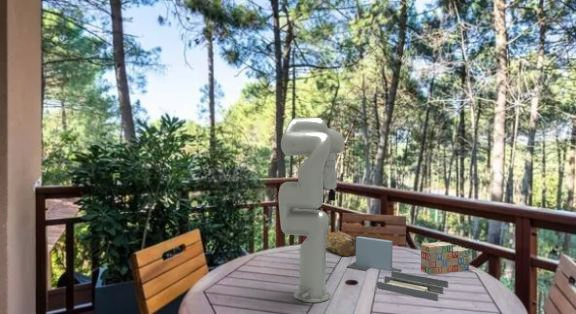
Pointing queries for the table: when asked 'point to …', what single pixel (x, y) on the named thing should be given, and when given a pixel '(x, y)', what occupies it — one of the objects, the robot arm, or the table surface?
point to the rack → (417, 279)
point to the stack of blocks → (443, 258)
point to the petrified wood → (341, 243)
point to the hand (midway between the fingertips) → (326, 201)
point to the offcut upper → (408, 286)
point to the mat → (366, 268)
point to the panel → (374, 253)
